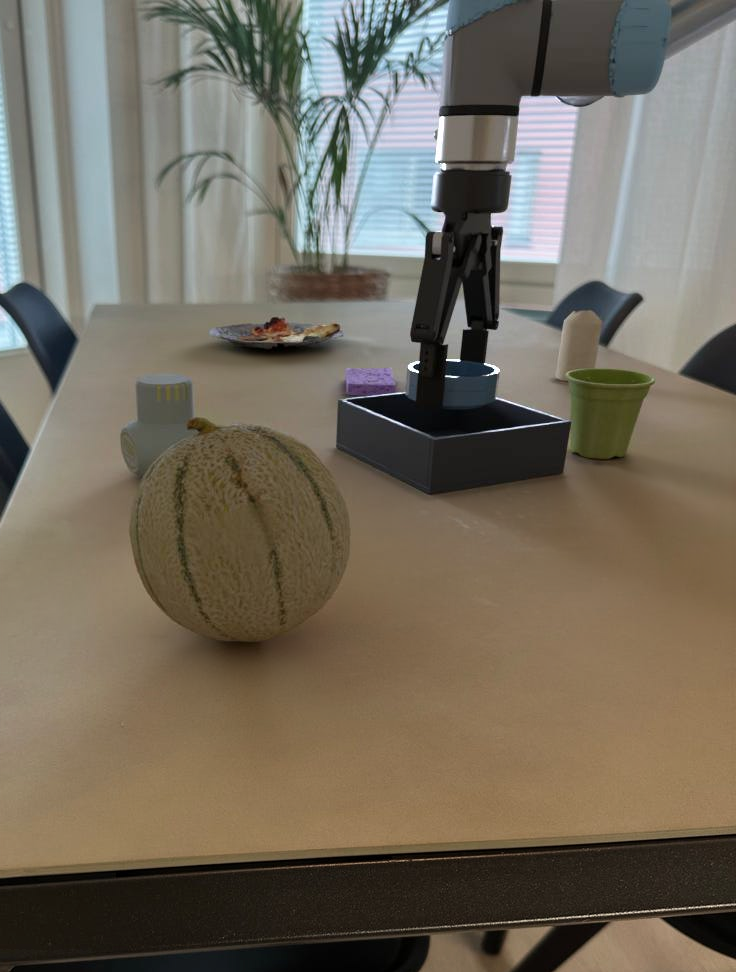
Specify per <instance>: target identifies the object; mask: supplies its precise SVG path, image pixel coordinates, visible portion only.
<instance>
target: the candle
mask: <svg viewBox="0 0 736 972" xmlns="http://www.w3.org/2000/svg"><path fill="white" fill-rule="evenodd" d="M602 327H603V321H602V320H601V318H600V317H599V316H598V315H597V314H596V313H595V312H594V311H593V310H589V309H588V310H583V309H582V310H579V311H576V310H572V312H571V313H570V314H569V315H568V316H567V317H566V318H565V319H564V320H563V325H562V330H561V331H562V332H561V338H560V339H561V340H560V344H559V352H558V357H557V358H558V359H557V364H556V371H555V378H556V379H557V380H559V381H564V382H569V380H567V379H566V373H567V372H570V371H573V370H579V369H591V368H596V363H597V356H598V350H599V345H600V340H601V339H600V338H601V333H602Z"/></svg>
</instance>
